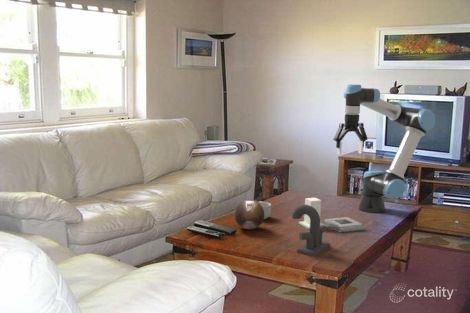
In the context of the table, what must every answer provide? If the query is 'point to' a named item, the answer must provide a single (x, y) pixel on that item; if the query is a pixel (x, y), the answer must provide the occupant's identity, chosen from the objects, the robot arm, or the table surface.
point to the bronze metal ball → (249, 214)
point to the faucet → (311, 231)
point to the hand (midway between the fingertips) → (349, 153)
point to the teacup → (266, 208)
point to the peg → (315, 204)
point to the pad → (307, 224)
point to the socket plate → (343, 224)
